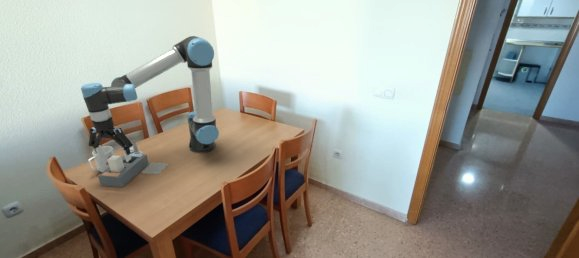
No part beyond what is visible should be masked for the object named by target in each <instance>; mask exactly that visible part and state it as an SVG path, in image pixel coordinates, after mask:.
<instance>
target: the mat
mask: <svg viewBox="0 0 579 258" xmlns="http://www.w3.org/2000/svg"><path fill="white" fill-rule="evenodd" d="M168 166H169V163H162V162H150V163H149V164H148V165H146V166H145V167H144V168H143V169H142V170H141V171H140V174H149V175H150V174H152V175H160V174H161V173H162V172H163V171H164V169H165V168H167V167H168Z"/></svg>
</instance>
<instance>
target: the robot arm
mask: <svg viewBox="0 0 579 258" xmlns="http://www.w3.org/2000/svg"><path fill="white" fill-rule="evenodd" d="M214 58H215V50H214V47H213V46H212V44H211V43H210V42H209V41H208V40H206V39H204V38H202V37H199V36H195V35H192V36H188V37H186V38H185V39H183V40H181V41H179V42H177V43H175V44H174V45H172V48H171V49H169V50H168V51H165V52H164V53H162V54H160V55H159V56H157V57H154V58H153V59H151V60H150V61H147V62H145V63H143V64H141V65H140V66H138V67H136V68H134V69H133V70H131V71H129V72H127V73H126V74H124V75H122V76H117V77H115V78H114V79H113V80H112V81H111V83H110V84H111V85H110V86H103V85H102V84H101V83H99V82H90V83H87V84H84V85H82V86H81V88H80V90H81V93H82V98H83V100H84V103H85V105H86V108H87V111H88V113H89V117H90V120H91V121H92V122H91V123H92V125H93V127H91V128H89V138H88V139H89V140H88V146H89V147H92V148H94V150H95V152H96V153H97V154H98V157H99V160H102V159H103V158H105V155H104V153H103V150H102V147H103V146H102V145H101V142H102V141H103V139H110V140H112V141H114V142H115V143H117V144H118V145H119V146H120V147H121V148H122V153H123V156H125V159H126V162H128V161H129V160H131V156H130V154H131V152H130V147H133V144H132V142H131V141H130V139H129V138H128V137H127V135H126V134H125V133H124V131H123V129H122V127H119V128H115V127H114V125H115V122H114V120H113V117H112V113H111V110H110V107H109V105H112V104H115V105H116V104H120V103H121V104H122V103H127V102H128V103H129V102H130V103H131V102H132V101H137V100H138V93H137V90H136V88H138V87H140V86H142V85H143V84H145V83H147V82H148V81H150V80H153V79H154V78H156V77H158V76H160V75H161V74H163V73H165V72H168V70H170V69H172V68H174V67H176V66H177V65H179V64H181V63H182V64H185V63H186V65H187V68H188V69H189V70H190V71H191V72H190V73H191V82H192V90H193V91H192V93H193V101H194V110H193V111H191V112H188V113H187V116H186V119H187V124H188V129H189V143H188V149H189V151H190V152H193V153H197V154H198V153H199V154H200V153H208V152H211V151H212V150H214V149H215V147H216V142H215V141H216V140H217V139H218V138H219V136H220V131H219V129H218V127H217V120H216V119H217V118H216V116H215V115H214V114H213V102H212V90H211V89H212V87H211V76H210V74H211V73H210V72H211V71H210V70H211V69H212V68H213V60H214ZM97 134H98V135H97Z"/></svg>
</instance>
